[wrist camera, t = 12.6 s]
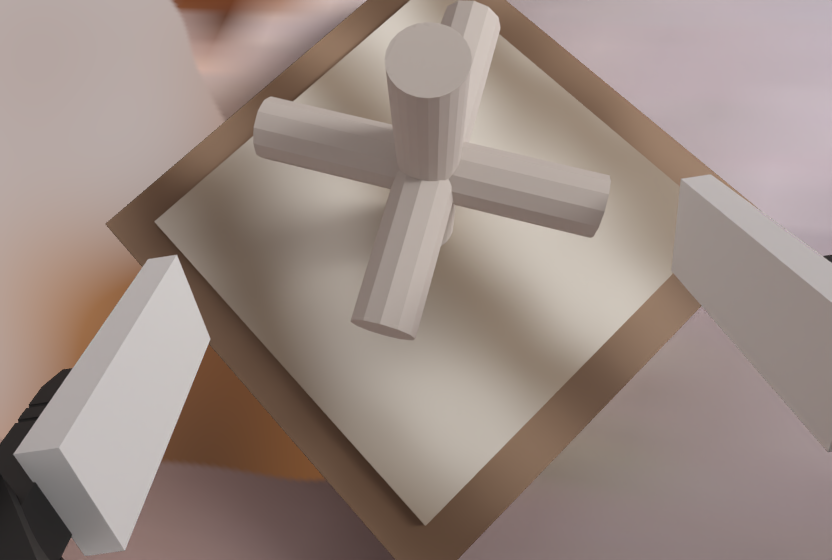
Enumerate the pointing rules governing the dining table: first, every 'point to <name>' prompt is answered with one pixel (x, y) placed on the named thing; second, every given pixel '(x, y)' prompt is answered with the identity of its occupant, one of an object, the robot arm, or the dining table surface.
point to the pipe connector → (428, 162)
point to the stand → (449, 290)
